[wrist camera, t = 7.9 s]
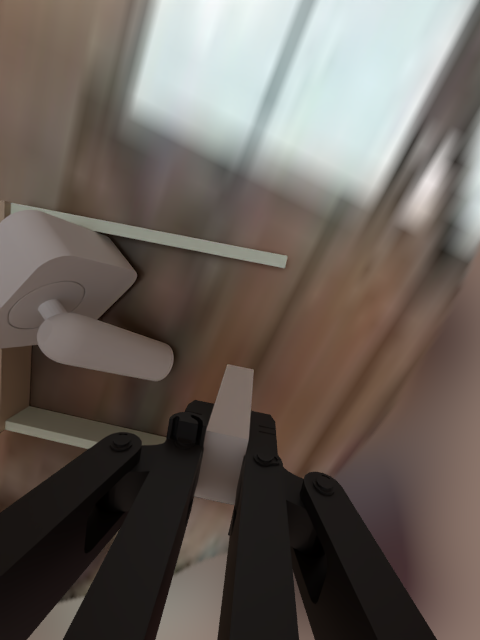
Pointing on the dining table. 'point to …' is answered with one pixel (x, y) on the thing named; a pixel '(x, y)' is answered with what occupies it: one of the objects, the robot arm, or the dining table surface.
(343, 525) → the robot arm
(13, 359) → the keeper channel
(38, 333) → the wall hook
